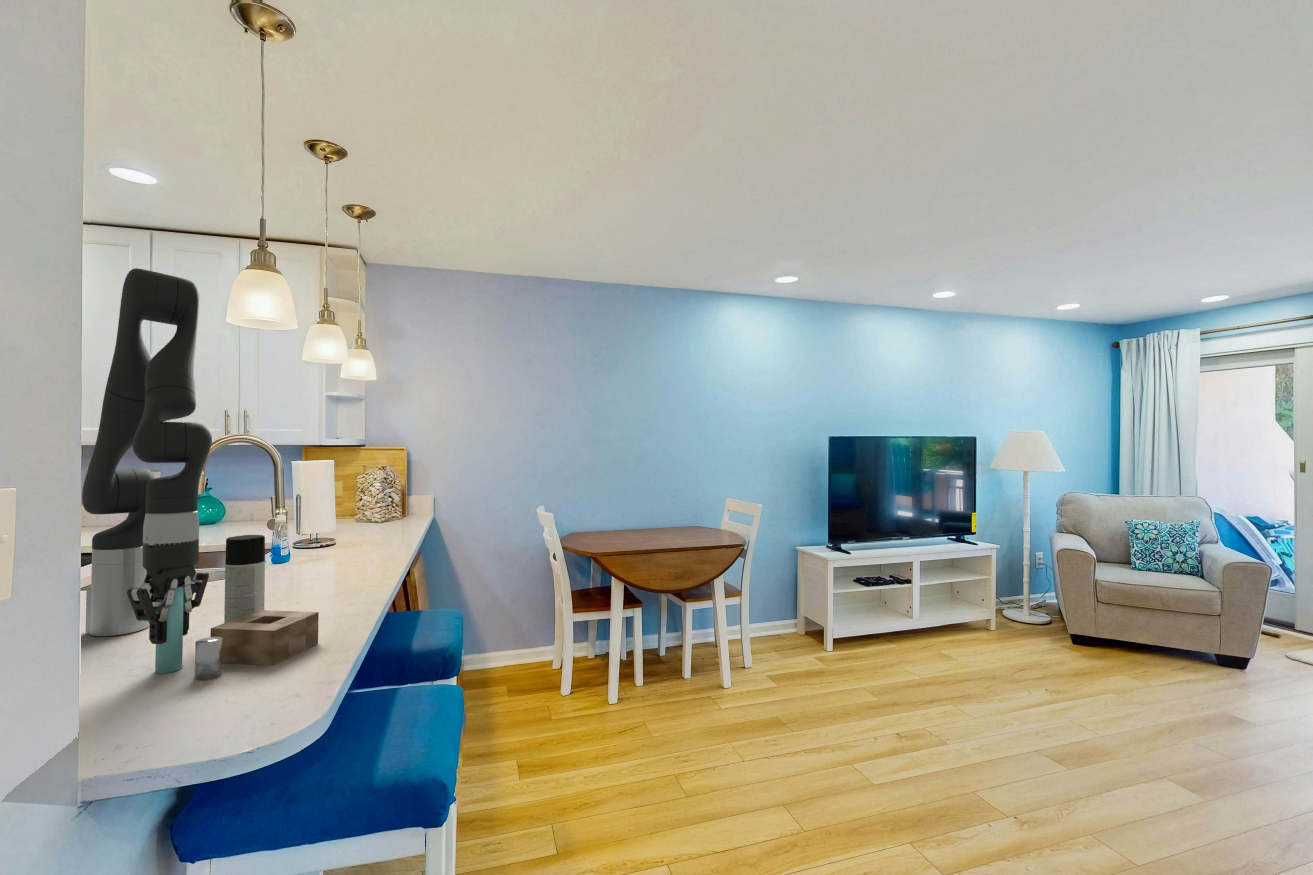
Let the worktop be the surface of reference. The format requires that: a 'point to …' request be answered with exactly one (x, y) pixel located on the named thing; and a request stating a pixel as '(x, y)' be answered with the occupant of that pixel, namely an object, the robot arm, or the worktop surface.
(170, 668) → the long pin
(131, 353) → the robot arm
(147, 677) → the worktop surface
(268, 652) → the socket block
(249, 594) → the spray can
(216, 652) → the short pin
